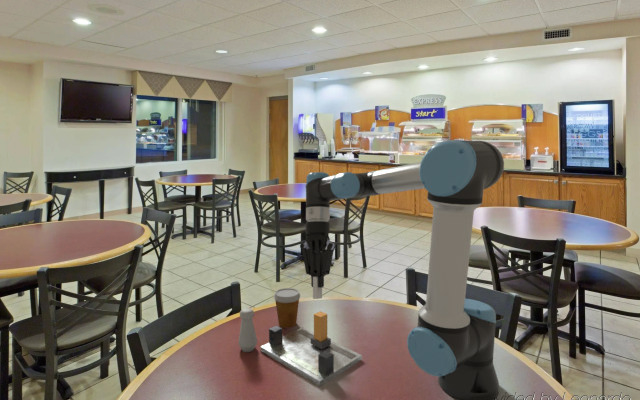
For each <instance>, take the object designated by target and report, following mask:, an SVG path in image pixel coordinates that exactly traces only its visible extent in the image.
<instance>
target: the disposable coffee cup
mask: <svg viewBox="0 0 640 400" xmlns="http://www.w3.org/2000/svg"><path fill="white" fill-rule="evenodd" d="M273 298H274V301H275V306H276V314H277V321H278V327H280V328H282V329H289V328H294V327H295V326H296V325H297V321H298V312H299V311H298V310H299V302H300V298H301V294H300V291H299V290H298V289H296V288H291V287H287V288H286V287H284V288H280V289H278V290H275V292H274V295H273Z"/></svg>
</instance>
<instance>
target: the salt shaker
mask: <svg viewBox="0 0 640 400" xmlns="http://www.w3.org/2000/svg"><path fill="white" fill-rule="evenodd" d="M254 314H255V312H254V309H252V308H247V307H246V308H243V309H241V310H240V311H239V318H240V319H241V320H240V331H239V335H238V336H239V337H238V346H239V347H240V350H241V351H242V352H244V353H250V352H253V351H254V349H255V347H256V345H257V343H258V339H257V334H256V330H255V329H256V328H255V325H254V320H253V318H254Z"/></svg>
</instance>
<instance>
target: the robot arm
mask: <svg viewBox="0 0 640 400" xmlns="http://www.w3.org/2000/svg"><path fill="white" fill-rule="evenodd" d="M504 169H505V161H504V157H503V155H502V152H501V151H500V150H499V149H498V148H497V147H496V146H495V145H493V144H492V143H490V142H487V141H484V140H461V139H460V140H459V139H452V140H451V139H450V140H444V141H440V142H438V143H436V144H434V145H432V146H431V147H430V148H429V149H428V150H427V151H426V152H425V154H424V155H423V156H422V159H421V161H419V162H414V163H408V164H404V165H399V166H394V167H393V166H392V167H388V168H384V169H379V170H373V171H367V172H360V173H359V172H355V173H353V172H351V171H346V172H338V174H334V175H329V173H327V172H325V171H324V172H323V171H320V172H319V171H316V172H310V173H308V174H307V175H306V182H305V183H306V184H305V220H306V221H307V222H306V223H305V233H306V239H305V241H304V243H300V245H299V248H300V249H301V252H302V257H303V263H304V269H305V273H306V275H309V276H310V278H311V282H310V283H311V288H312V300H313V299H315V300H319V299H323V288H324V286H325V276H327V275H330V273H331V268H332V267H331V266H332V261H333V257H334V251H335V249H336V247H337V243H336V242H335V243H334V242H332V241H331V239H330V235H329V234H330V230H331V229H330V224H331V223H330V222H329V221H330V220H331V219H330V218H331V216H330V215H331V214H330V212H331V211H330V209H331V207H330V206H331V205H330V202H333V201H338V200H339V201H340V200H347V199H353V198H362V197H369V196H370V197H371V196H372V197H373V196H378V195H385V194H392V193H401V192H407V191H417V190H426V191H427V198H426V199H427V201H428V203H429V204H430V205H431V206H432V207H433V210H432V222H431V223H432V224H431V233H430V234H431V235H430V236H431V237H430V247H429V248H430V249H429V261H428V262H429V263H428V275H427V286H426V297H425V298H426V299H425V304H424V305H423V306H420V308H419V309H418V313H417V314H418V316H417V326H416V327H414V328H412V329H411V330H410V332H409V333H408V334H407V335H408V336H407V339H406V345H407V350H408V352H409V355H410V357H411V359H413V362H414V363H415V364H416V366H417V367H418V368H420V370H422V371H424V372H425V373H426V374H428V375H430V376H432V377H437V381H438V385H439V386H440V388H441V389H442V390H443V391H444V392H445V393H447V394H448V395H450V396H451V397H453V398H455V399H458V400H496V398H498V396H499V392H500V391H499V390H500V382H499V379H498V375H497V372H496V369H495V365H494V353H495V352H494V351H495V338H496V337H495V336H496V324H497V320H496V311H495V309H494V308H493V307H492V306H491V305H489V304H487V303H485V302H482V301H479V300H476V299H471V298H466V296H467V295H466V294H467V284H468V275H469V274H468V272H469V262H470V256H471V255H470V253H471V243H472V234H473V233H472V232H473V225H474V224H473V223H474V213H475V211H476V209H478V208H479V207H480V206H482V205H483V198H484V191H485V190H486V189H489V188H491V187H493V186H494V185H495V184H496V183H498V181H499V180H500V178H501V177H502V175H503V173H504Z"/></svg>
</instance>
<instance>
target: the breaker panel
mask: <svg viewBox="0 0 640 400" xmlns="http://www.w3.org/2000/svg"><path fill="white" fill-rule="evenodd" d="M313 336H314V331H311V330H309V329H307V328H306V327H300V328H298V329H295V330H293V331H291V332H290V333H287V334H285V335H283V327H280V326H279V325H274V326H272V327H269V328H268V342H267V343H265V344H263V345H261V346H260V351H261V352H262V353H263V354H266V355H267V356H268V357H270V358H272V359H273V360H275V361H277V362H278V363H280V364H282V365H283V366H285V367H286V368H289V369H290V370H292V371H293V372H295V373H297V374H298V375H300V376H302V378H303V377H304V378H305V379H306V380H308V381H310V382H311V383H313V384H315V385H317V386H318V387H322V386H323V385H324V384H326V383H328V382H330V381H332V380H333V379H334V378H336V377H338V376H339V375H340V374H342V373H344V372H345V371H346V370H348V369H350V368H352V367H353V366H355V365H356V364H358V363H360V362H361V361H362V359H363V355H362V354H359V353H358V352H355V351H353V350H352V349H349V348H348V347H345V346H343V345H341V344H339V343H337V342H335V341H334V340H331V345H329V346H327V347H325V348H323V349H320V348H318V347H317V346H315V345H313V344H311V337H313Z"/></svg>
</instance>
